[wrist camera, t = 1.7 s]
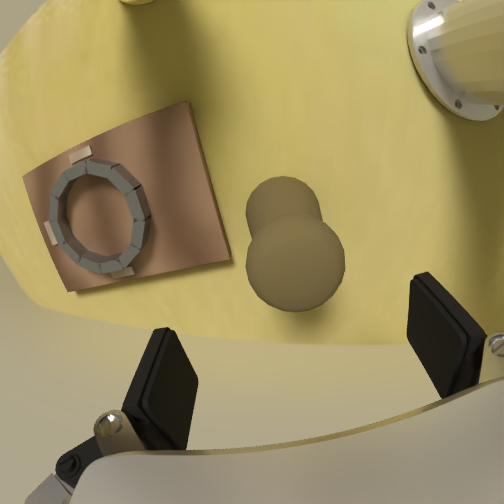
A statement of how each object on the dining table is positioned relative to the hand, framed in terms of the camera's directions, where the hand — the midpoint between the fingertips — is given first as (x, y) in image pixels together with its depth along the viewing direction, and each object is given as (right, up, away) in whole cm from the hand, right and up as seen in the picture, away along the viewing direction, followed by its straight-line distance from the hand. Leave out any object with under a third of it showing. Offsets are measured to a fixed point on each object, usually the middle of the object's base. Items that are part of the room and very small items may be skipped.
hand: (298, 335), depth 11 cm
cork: (+1, +6, +13) cm, 15 cm away
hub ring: (-15, +6, +12) cm, 20 cm away
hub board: (-14, +7, +13) cm, 20 cm away
